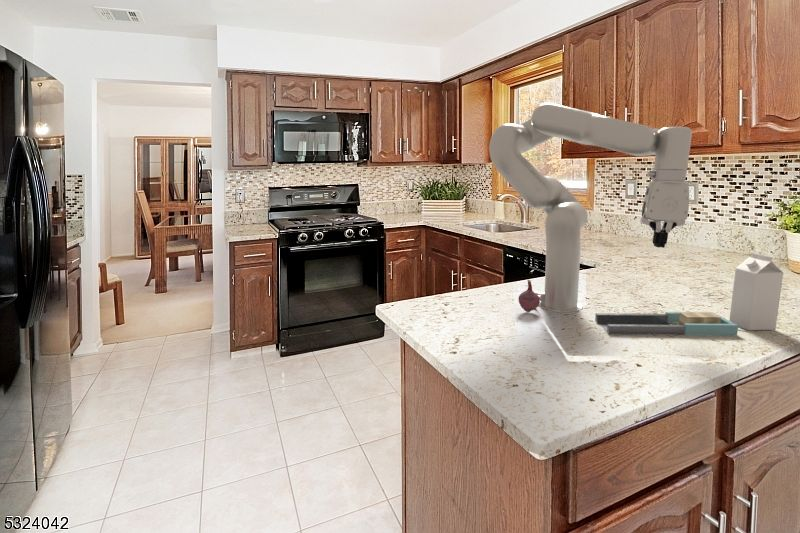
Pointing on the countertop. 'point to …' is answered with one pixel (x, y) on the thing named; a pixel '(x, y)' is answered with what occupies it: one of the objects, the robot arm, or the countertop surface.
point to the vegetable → (529, 299)
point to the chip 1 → (691, 318)
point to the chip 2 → (711, 318)
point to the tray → (705, 326)
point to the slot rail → (638, 324)
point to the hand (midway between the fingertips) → (659, 246)
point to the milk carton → (756, 293)
